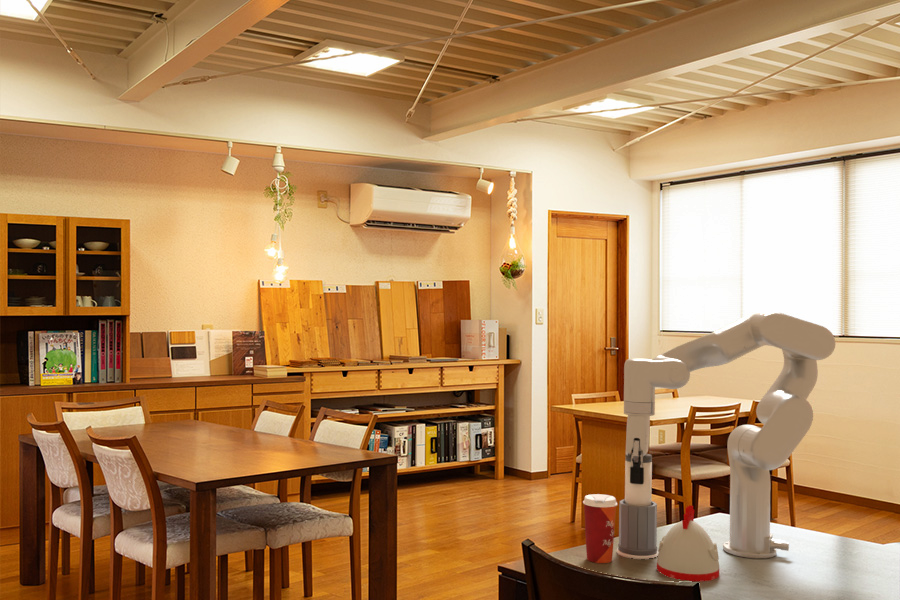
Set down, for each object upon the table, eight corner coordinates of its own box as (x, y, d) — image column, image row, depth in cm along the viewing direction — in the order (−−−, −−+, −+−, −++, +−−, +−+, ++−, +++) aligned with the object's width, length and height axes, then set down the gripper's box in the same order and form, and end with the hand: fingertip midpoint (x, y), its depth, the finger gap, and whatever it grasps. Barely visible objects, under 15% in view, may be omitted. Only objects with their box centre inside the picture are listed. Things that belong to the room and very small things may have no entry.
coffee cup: (616, 566, 196) (617, 502, 196) (581, 563, 198) (582, 500, 198) (616, 555, 204) (617, 494, 204) (582, 553, 206) (583, 492, 206)
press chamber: (662, 551, 208) (663, 501, 209) (652, 561, 200) (652, 509, 200) (623, 545, 213) (624, 496, 213) (611, 555, 204) (612, 504, 204)
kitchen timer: (724, 568, 195) (725, 504, 195) (712, 585, 183) (713, 517, 183) (665, 559, 202) (666, 497, 202) (649, 575, 190) (650, 509, 190)
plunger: (654, 524, 208) (654, 454, 208) (647, 530, 202) (648, 458, 202) (628, 520, 211) (629, 451, 211) (621, 526, 205) (622, 455, 205)
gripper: (627, 404, 216) (626, 473, 216) (619, 411, 200) (618, 486, 199) (657, 405, 214) (656, 475, 214) (651, 413, 197) (650, 489, 197)
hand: (638, 480), depth 207 cm, fingers closed on plunger, 6 cm apart
